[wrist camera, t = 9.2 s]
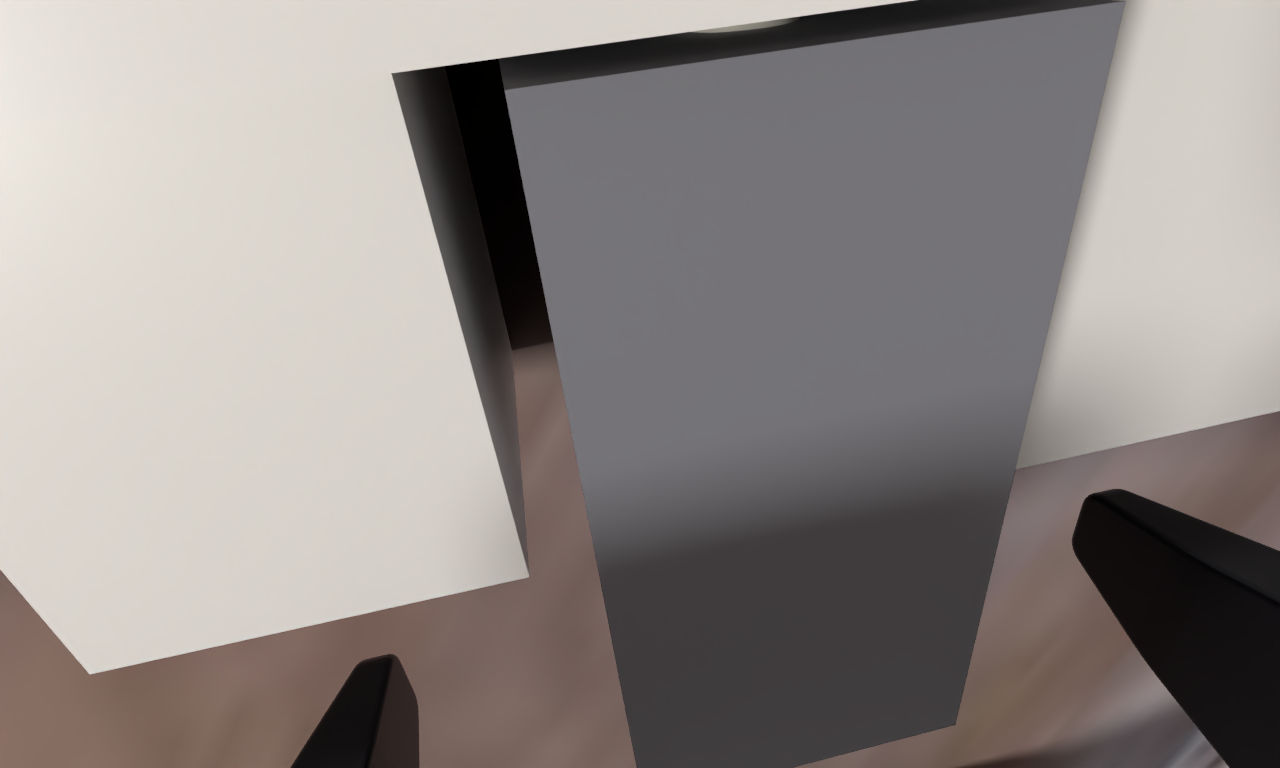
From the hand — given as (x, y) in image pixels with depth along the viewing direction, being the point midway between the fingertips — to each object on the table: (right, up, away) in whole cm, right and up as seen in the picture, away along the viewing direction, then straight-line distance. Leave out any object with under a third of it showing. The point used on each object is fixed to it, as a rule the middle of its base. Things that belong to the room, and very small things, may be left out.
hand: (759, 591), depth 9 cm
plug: (-1, +4, +3) cm, 5 cm away
